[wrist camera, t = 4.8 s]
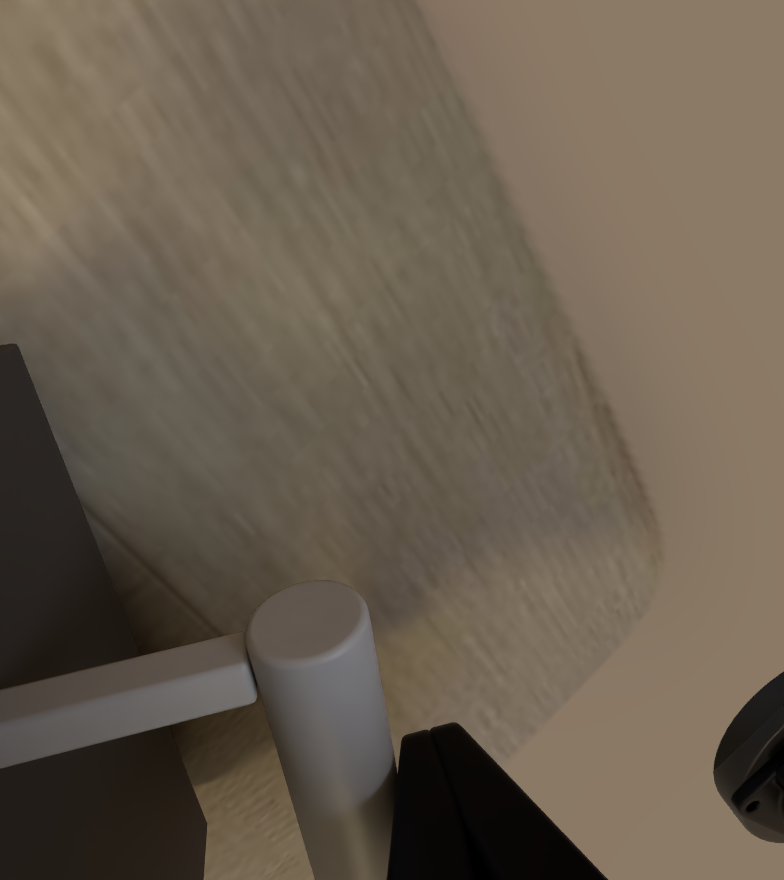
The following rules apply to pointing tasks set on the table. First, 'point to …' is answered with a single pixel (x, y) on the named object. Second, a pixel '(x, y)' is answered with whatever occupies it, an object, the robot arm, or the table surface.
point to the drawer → (162, 697)
